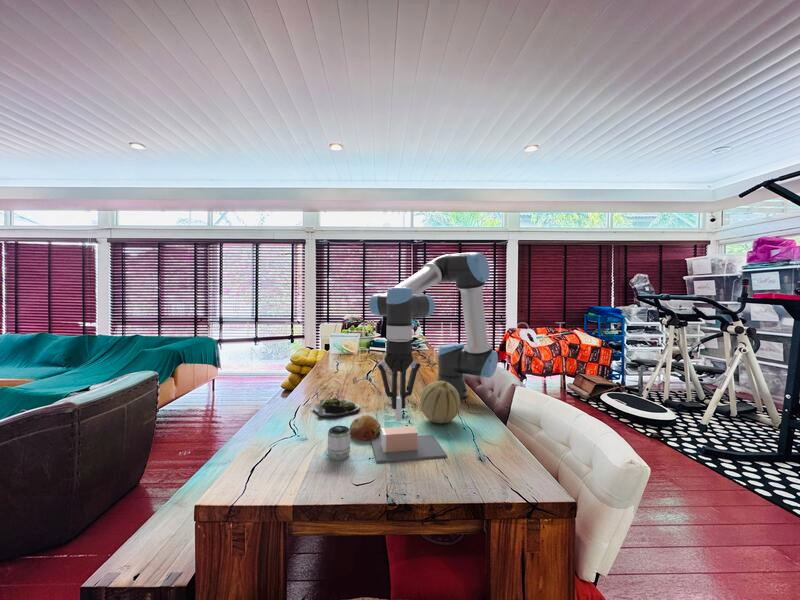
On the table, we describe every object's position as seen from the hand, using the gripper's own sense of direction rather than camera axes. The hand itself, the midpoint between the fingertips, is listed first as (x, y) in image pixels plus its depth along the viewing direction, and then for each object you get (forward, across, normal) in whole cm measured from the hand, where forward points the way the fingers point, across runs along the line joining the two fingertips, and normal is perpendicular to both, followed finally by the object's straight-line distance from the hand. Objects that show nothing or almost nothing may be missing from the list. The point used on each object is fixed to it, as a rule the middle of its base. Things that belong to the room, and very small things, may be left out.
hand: (398, 419), depth 100 cm
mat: (+9, -3, 0) cm, 9 cm away
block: (+6, -5, 0) cm, 8 cm away
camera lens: (+9, +17, +1) cm, 20 cm away
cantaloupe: (+9, -19, -19) cm, 28 cm away
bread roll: (+9, +8, -12) cm, 17 cm away
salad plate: (+10, +18, -37) cm, 42 cm away
